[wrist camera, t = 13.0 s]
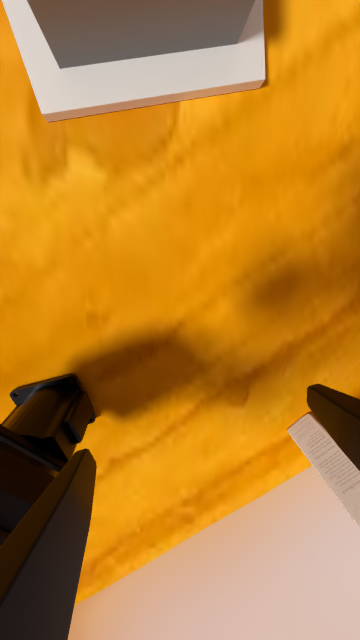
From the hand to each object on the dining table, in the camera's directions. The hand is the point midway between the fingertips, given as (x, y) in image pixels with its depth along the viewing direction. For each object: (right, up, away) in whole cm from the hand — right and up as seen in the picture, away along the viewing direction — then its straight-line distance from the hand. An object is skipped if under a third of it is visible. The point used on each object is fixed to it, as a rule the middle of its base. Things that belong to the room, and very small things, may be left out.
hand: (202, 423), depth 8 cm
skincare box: (+18, -12, +21) cm, 30 cm away
